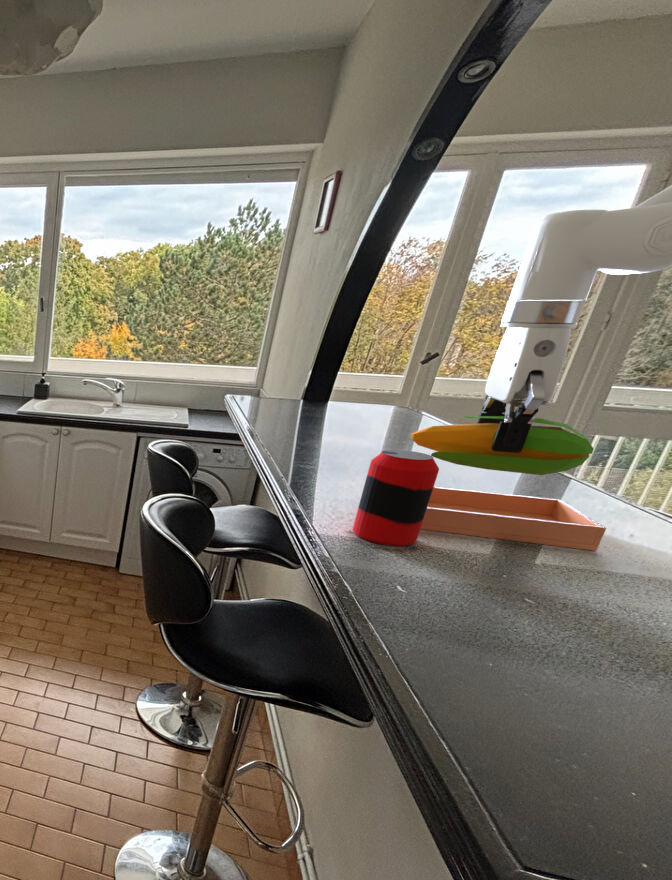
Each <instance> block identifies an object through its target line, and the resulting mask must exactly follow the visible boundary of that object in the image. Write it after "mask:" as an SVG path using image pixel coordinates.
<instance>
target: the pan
mask: <svg viewBox="0 0 672 880" xmlns="http://www.w3.org/2000/svg"><path fill="white" fill-rule="evenodd" d="M420 530H426V531H432V532H440V533H441V532H442V533H449V534H456V535H457V534H458V535H465V536H471V537H472V536H474V537H480V538H481V537H482V538H489V539H495V540H496V539H497V540H505V541H514V542H522V543H527V544H528V543H529V544H538V545H545V546H553V547H562V548H570V549H576V550H577V549H578V550H584V551H594V552H597V551H598V548H599V545H600V543H601V542H602V539H603V537H604V534H605V533H606V531H607V527H605V526H603V525H602V524H600V523H598V522H597V521H596V520H594V519H592V518H591V517H590V516H587V514H584V513H583V512H581V511H579V509H577V508H575V507H573V506H572V505H570V504H568V503H567V502H566V501H564V500H562V499H559V498H557V499H556V498H549V497H548V498H547V497H539V496H528V495H517V494H508V493H497V492H489V491H479V490H468V489H458V488H450V487H439V486H434V487H433V490H432V493H431V497H430V500H429V503H428V506H427V509H426V512H425V515H424V519H423V522H422V525H421V528H420Z"/></svg>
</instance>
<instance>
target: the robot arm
mask: <svg viewBox="0 0 672 880" xmlns="http://www.w3.org/2000/svg"><path fill="white" fill-rule="evenodd" d="M671 268H672V184H671V185H669V186H668V187H666V188H665V189H663V190H661V191H659V192H657V193H656V194H655V195H652V196H651V197H649V198H648V199H646V200H645V201H642V202H641V203H639V204H638V205H636V206H634V207H630V208H621V209H615V210H607V209H595V208H594V209H575V210H564V211H557V212H553V213H549V214H546V215H543V216H542V217H540V218H539V219H538V220H537V221H536V222H535V224H534V226H533V227H532V229H531V232H530V235H529V238H528V240H527V244H526V247H525V251H524V253H523V256H522V260H521V263H520V265H519V269H518V272H517V274H516V278H515V280H514V284H513V287H512V289H511V292H510V295H509V299H508V301H507V304H506V307H505V311H504V314H503V316H502V319H501V322H500V327H502V328H506V329H505V332H504V334H503V337H502V339H501V341H500V344H499V347H498V349H497V351H496V354H495V357H494V359H493V362H492V365H491V367H490V370H489V374H488V377H487V380H486V383H485V388H484V393H485V397H484V398H485V399H484V402H483V404H482V406H481V410H480V411H481V412H480V413H479V416H505V419H494V418H477V422H476V424H479V423H498V424H499V427H498V430H497V433H496V435H495V438H494V441H493V444H492V447H491V449H492V450H493V451H499V452H511V453H520V452H521V451H522V449H523V446H524V444H525V441H526V438H527V436H528V433H529V430H530V427H531V426H533V424H534V423H533V422H534V418H536V414H537V413H539V411H540V410H539V409H540V406H546V405H548V404H549V403H551V401H552V400H553V398H554V395H555V393H556V390H557V386H558V383H559V380H560V377H561V375H562V370H563V367H564V364H565V361H566V357H567V353H568V349H569V346H570V341H571V334H572V329H576V328H577V326H578V323H579V320H580V318H581V315H582V312H583V309H584V307H585V304H586V301H587V299H588V297H589V294H590V291H591V288H592V286H593V283H594V281H595V278H596V276H597V273H598V271H600V272H602V273H604V274H608V275H614V276H615V275H616V276H622V275H623V276H625V275H632V274H633V275H634V274H647V273H654V272H658V271H659V272H660V271H664V270H668V269H671ZM515 408H516V409H515Z"/></svg>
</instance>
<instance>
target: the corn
mask: <svg viewBox="0 0 672 880" xmlns="http://www.w3.org/2000/svg"><path fill="white" fill-rule="evenodd" d="M463 418H466V419H479V418H494V419H505V416H480V415H477V416H476V415H475V416H472V415H463ZM534 423H535V424H541V425H531V427H530V430H529V433H528V436H527V438H526V441H525V444H524V446H523V449H522V451H521V452H520V453H511V452H499V451H493V450H492V449H491V447H492V444H493V441H494V438H495V435H496V433H497V430H498V427H499V424H498V423H479V424H477V423H462V424H444V425H443V424H442V425H432V426H428V427H425V428H423V429H420V430H417V431H414V432H412V433H410V436H411V439H412V441H413V442H414V443H415V444H416V445H417V446H420V447H423V448H425V449H428V450H432V451H434V452H432V453H431V455H430V456H432V457H433V458H435V459H438V460H441V461H443V462H448V463H451V464H455V465H459V466H464V467H471V468H476V469H481V470H482V469H483V470H489V471H496V472H497V471H498V472H508V473H516V474H526V475H536V476H545V475H551V474H557V473H561V472H567V471H570V470H572V469H574V468H577V467H579V466H582V465H583V464H584V463H585V462H586V461H587V460H588V459H589V458H590V455H592V454H593V452H594V447H593V446H592V444H591V442H590V441H589V439H588V437H587V436H586V435H584V434H582V433H581V432H580V431H578V430H576V429H575V428H573V427H572V426H570V425H569V424H567V423H563V422H559V421H554V420H549V419H545V418H542V417H541V418H539V417H535V418H534V422H533V423H532V424H534ZM545 425H546V426H545ZM547 425H552V426H547ZM564 428H565V429H564ZM566 429H568V430H569V431H568V430H566ZM571 431H572V432H571Z"/></svg>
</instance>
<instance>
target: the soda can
mask: <svg viewBox="0 0 672 880" xmlns="http://www.w3.org/2000/svg"><path fill="white" fill-rule="evenodd" d="M439 471H440V467H439V466H438V464H437V462H436V461H435V459H434V457H433V456H431V455H430V454H427V453H423V452H419V451H413V450H404V449H384V450H382V451H381V452H380V453H379V454H377V455H375V456H374V457H373V458H371V460H370V464H369V466H368V471H367V475H366V477H365V482H364V486H363V489H362V491H361V497H360V500H359V504H358V507H357V511H356V515H355V518H354V522H353V525H352V532H353V533H354V535H355V536H356V537H358V538H360V539H362V540H365V541H368V542H371V543H374V544H377V545H378V544H379V545H385V546H391V547H406V546H407V547H408V546H411V545H413V544H414V543H416V542H417V541H418V537H419V534H420V531H421V529H420V528H421V525H422V522H423V519H424V515H425V512H426V509H427V506H428V503H429V500H430V497H431V493H432V490H433V487H435V484H436V481H437V477H438V474H439Z"/></svg>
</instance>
